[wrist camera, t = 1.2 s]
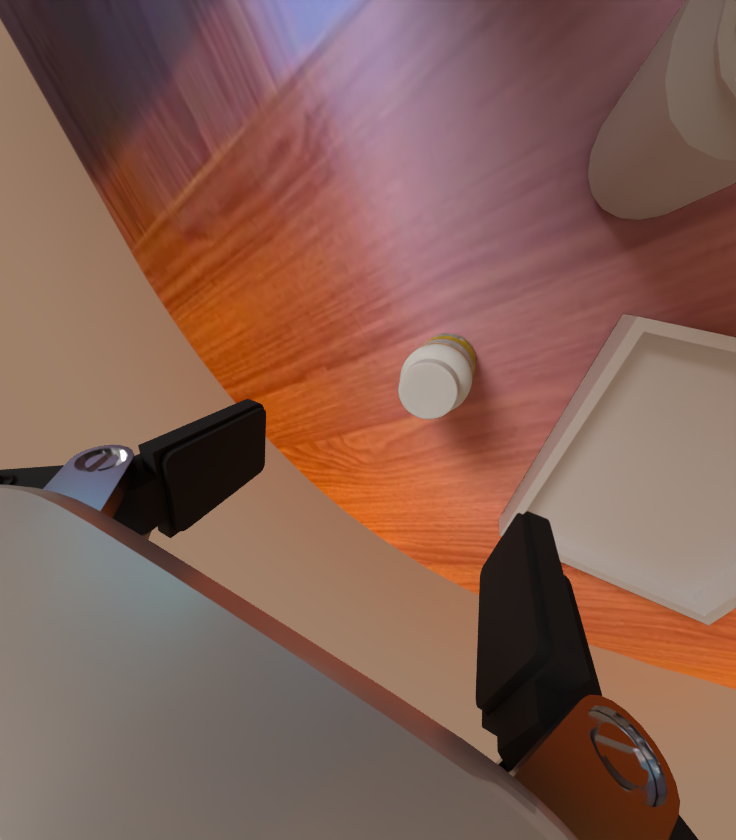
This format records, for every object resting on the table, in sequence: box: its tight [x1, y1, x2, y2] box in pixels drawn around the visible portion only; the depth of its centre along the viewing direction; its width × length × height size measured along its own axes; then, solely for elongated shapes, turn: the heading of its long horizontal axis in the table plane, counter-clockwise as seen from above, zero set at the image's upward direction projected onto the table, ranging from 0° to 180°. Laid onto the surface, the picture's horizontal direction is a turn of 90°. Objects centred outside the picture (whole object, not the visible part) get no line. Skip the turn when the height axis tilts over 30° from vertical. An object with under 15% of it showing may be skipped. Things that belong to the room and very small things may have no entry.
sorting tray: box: [499, 314, 736, 625], centre depth 23 cm, size 22×18×2 cm
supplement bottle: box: [398, 333, 476, 419], centre depth 23 cm, size 5×5×10 cm
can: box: [588, 0, 736, 220], centre depth 12 cm, size 8×8×12 cm
